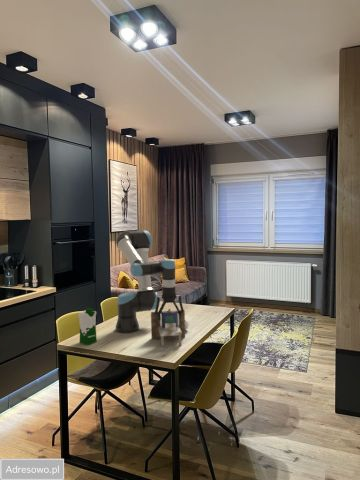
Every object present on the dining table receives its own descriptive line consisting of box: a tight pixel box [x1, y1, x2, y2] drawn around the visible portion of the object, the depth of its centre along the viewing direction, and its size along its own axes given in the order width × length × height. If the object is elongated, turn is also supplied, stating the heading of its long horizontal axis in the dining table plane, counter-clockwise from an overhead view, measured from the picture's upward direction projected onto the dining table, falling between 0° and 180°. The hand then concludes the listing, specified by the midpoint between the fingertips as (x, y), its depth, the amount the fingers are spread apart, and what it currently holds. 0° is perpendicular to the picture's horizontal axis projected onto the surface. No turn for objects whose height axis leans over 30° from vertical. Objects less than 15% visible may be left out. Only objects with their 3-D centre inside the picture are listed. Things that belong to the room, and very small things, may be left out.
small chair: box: [150, 309, 186, 348], centre depth 212 cm, size 20×16×16 cm
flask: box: [161, 308, 178, 328], centre depth 210 cm, size 9×3×11 cm, turn 95°
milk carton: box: [77, 307, 98, 346], centre depth 213 cm, size 9×9×20 cm
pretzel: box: [185, 318, 190, 331], centre depth 232 cm, size 11×12×9 cm
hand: (169, 325), depth 211 cm, fingers closed on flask, 9 cm apart
